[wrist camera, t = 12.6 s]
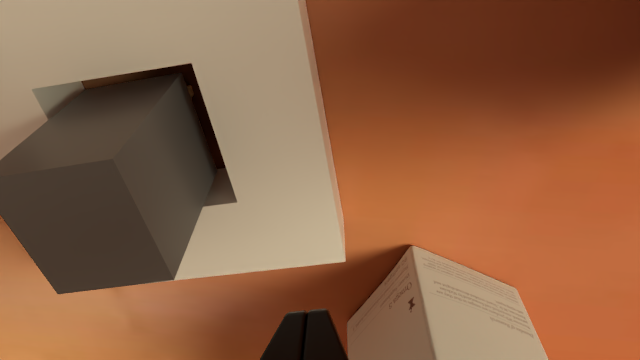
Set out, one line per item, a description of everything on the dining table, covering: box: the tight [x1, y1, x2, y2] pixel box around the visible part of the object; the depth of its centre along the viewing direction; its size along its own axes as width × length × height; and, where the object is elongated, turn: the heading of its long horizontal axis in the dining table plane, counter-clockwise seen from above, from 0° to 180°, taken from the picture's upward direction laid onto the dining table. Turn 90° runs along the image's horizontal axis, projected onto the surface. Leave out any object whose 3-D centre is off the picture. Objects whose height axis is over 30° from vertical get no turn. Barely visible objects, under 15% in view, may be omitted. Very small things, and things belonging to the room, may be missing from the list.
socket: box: [0, 0, 346, 285], centre depth 18 cm, size 14×14×4 cm
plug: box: [0, 72, 217, 294], centre depth 16 cm, size 4×4×8 cm
